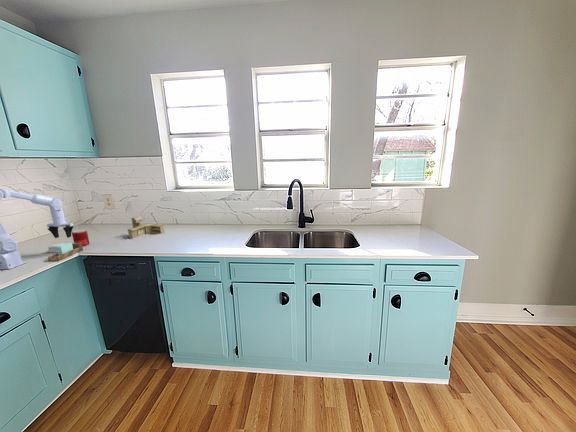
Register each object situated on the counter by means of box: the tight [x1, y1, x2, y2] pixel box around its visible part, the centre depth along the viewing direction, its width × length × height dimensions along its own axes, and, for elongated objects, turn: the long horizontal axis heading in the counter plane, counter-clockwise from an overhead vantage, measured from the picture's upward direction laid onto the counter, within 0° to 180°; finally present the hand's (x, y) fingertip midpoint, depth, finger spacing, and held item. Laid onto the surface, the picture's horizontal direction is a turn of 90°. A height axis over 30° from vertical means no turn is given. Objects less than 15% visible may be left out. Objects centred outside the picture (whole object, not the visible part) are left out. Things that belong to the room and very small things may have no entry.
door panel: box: [57, 242, 73, 255], centre depth 151 cm, size 8×2×6 cm, turn 3°
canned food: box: [71, 228, 90, 248], centre depth 169 cm, size 8×8×11 cm
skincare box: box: [47, 243, 66, 254], centre depth 160 cm, size 6×4×12 cm
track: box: [47, 242, 84, 263], centre depth 151 cm, size 18×6×5 cm, turn 3°
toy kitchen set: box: [127, 215, 165, 240], centre depth 189 cm, size 18×17×15 cm
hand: (63, 237), depth 156 cm, fingers open, 7 cm apart
